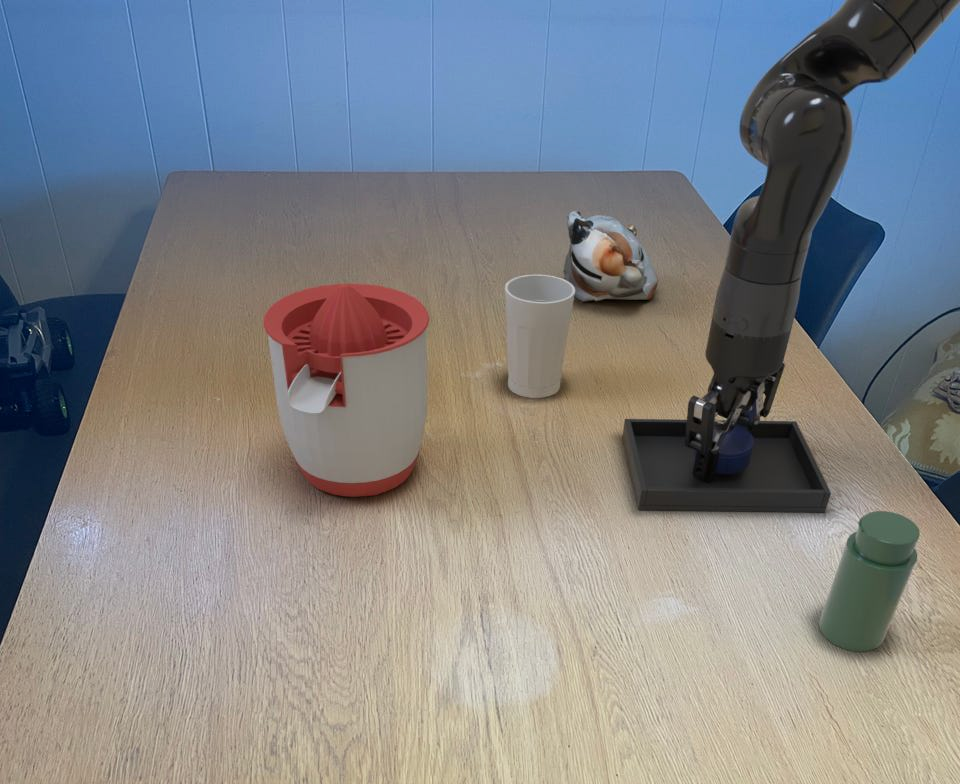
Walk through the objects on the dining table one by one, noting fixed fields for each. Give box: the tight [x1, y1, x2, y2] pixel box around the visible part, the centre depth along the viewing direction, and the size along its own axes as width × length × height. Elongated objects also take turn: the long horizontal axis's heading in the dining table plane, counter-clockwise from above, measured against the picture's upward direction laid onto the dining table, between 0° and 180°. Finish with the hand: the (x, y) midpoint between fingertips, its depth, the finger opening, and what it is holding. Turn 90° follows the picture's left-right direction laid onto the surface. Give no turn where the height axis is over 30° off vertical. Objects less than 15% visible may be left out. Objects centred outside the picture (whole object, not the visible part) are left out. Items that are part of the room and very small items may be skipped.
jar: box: [818, 510, 921, 653], centre depth 82 cm, size 6×6×11 cm
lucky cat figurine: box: [563, 210, 659, 303], centre depth 133 cm, size 15×12×14 cm
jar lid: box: [694, 425, 754, 474], centre depth 102 cm, size 6×6×2 cm
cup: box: [504, 274, 575, 399], centre depth 113 cm, size 8×8×12 cm
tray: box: [621, 418, 832, 513], centre depth 103 cm, size 19×14×2 cm
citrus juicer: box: [263, 283, 430, 498], centre depth 95 cm, size 16×17×20 cm
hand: (719, 467), depth 103 cm, fingers closed on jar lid, 5 cm apart
